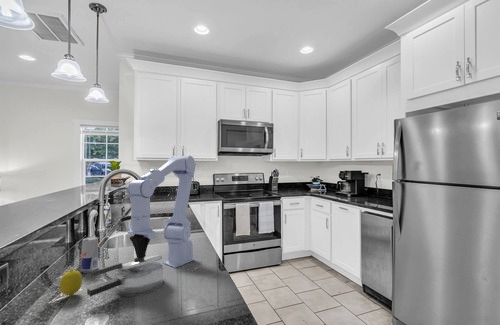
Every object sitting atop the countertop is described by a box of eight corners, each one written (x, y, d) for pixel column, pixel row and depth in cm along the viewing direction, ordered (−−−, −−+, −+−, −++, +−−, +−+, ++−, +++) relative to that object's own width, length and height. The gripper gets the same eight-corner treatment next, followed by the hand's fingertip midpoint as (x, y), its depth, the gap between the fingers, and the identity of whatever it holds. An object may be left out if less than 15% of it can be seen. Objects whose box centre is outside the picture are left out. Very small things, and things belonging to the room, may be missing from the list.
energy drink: (79, 270, 92) (79, 238, 92) (95, 265, 96) (95, 235, 96) (83, 274, 89) (83, 241, 89) (100, 269, 92) (100, 238, 93)
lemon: (86, 291, 76) (86, 265, 76) (74, 300, 71) (74, 273, 71) (68, 291, 76) (68, 266, 76) (54, 301, 70) (54, 273, 71)
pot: (148, 272, 89) (148, 258, 89) (171, 282, 81) (171, 268, 81) (79, 298, 72) (79, 281, 72) (99, 315, 63) (99, 296, 63)
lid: (148, 258, 89) (147, 252, 90) (170, 256, 81) (169, 249, 82) (83, 280, 73) (82, 273, 73) (102, 279, 65) (101, 271, 65)
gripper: (118, 215, 81) (118, 255, 81) (140, 220, 72) (140, 266, 72) (138, 212, 87) (138, 250, 86) (161, 216, 78) (161, 258, 77)
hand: (140, 257), depth 79 cm, fingers closed
